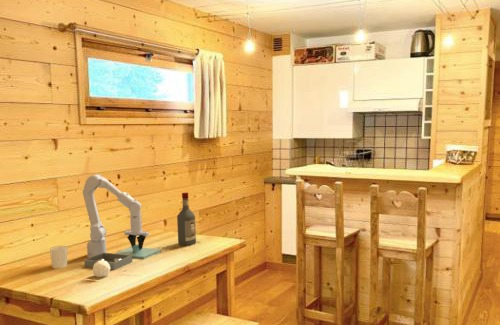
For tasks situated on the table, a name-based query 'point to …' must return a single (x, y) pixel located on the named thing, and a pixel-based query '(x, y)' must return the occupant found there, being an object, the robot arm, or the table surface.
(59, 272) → the table surface
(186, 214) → the liquor
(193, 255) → the table surface
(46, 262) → the table surface
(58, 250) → the white cup
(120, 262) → the tub
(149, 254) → the lid
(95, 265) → the ball
